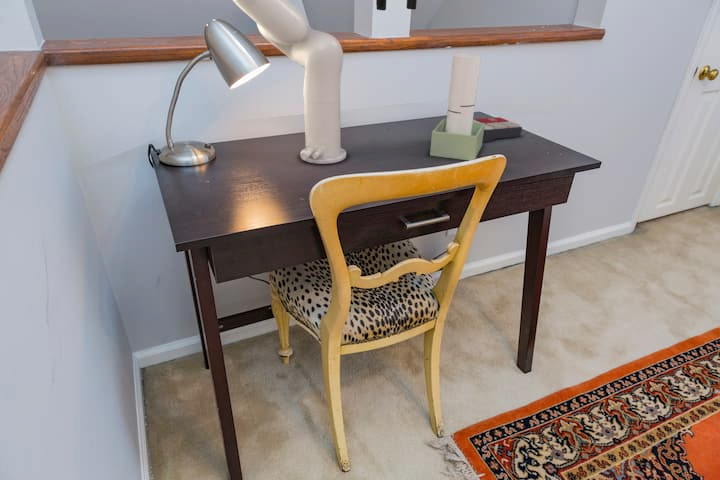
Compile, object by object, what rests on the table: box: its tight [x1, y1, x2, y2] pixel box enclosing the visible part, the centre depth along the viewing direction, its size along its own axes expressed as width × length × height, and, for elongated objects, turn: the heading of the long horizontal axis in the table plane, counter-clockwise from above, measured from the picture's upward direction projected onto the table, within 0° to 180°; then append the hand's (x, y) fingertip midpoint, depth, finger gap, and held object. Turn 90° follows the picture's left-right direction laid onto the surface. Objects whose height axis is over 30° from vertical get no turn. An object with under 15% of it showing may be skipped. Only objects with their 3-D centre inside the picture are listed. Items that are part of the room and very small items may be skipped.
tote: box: [429, 118, 485, 161], centre depth 138 cm, size 14×12×7 cm
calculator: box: [473, 116, 523, 143], centre depth 152 cm, size 11×4×15 cm
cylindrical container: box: [445, 52, 482, 135], centre depth 133 cm, size 7×7×25 cm
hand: (396, 9), depth 124 cm, fingers open, 9 cm apart
